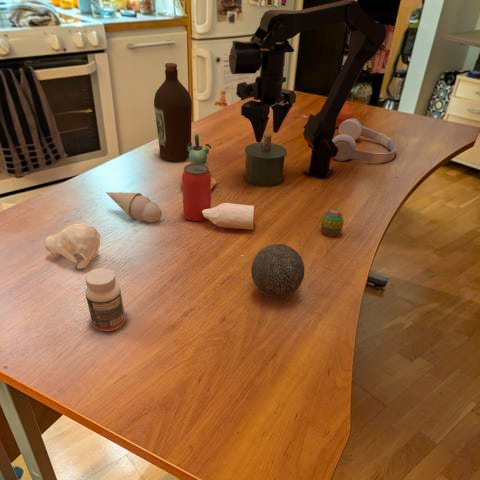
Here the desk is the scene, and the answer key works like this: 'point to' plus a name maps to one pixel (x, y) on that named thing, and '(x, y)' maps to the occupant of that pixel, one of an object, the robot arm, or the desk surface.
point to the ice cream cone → (137, 206)
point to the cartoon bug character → (199, 155)
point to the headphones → (347, 144)
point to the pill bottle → (104, 299)
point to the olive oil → (173, 117)
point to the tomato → (344, 114)
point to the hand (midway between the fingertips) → (267, 137)
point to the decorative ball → (277, 270)
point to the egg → (332, 222)
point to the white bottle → (231, 215)
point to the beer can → (196, 191)
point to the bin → (264, 171)
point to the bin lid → (265, 149)
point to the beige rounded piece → (75, 243)
